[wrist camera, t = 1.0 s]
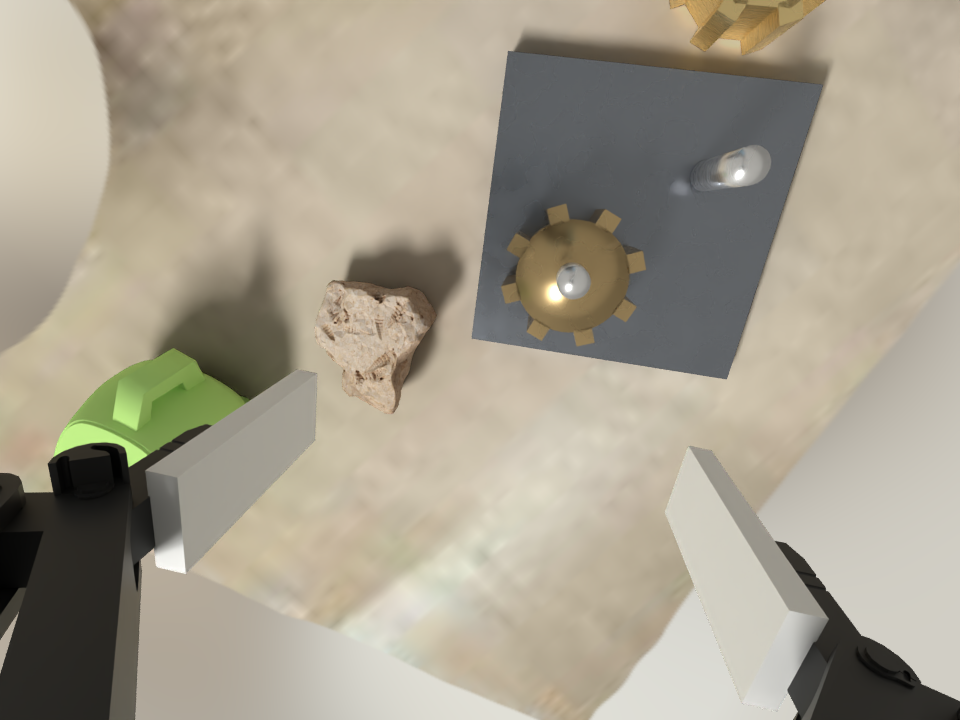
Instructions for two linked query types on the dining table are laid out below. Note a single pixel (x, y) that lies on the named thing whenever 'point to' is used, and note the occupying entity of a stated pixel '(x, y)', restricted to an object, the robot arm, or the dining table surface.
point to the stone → (373, 337)
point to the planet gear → (744, 20)
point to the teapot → (150, 406)
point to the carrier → (634, 208)
